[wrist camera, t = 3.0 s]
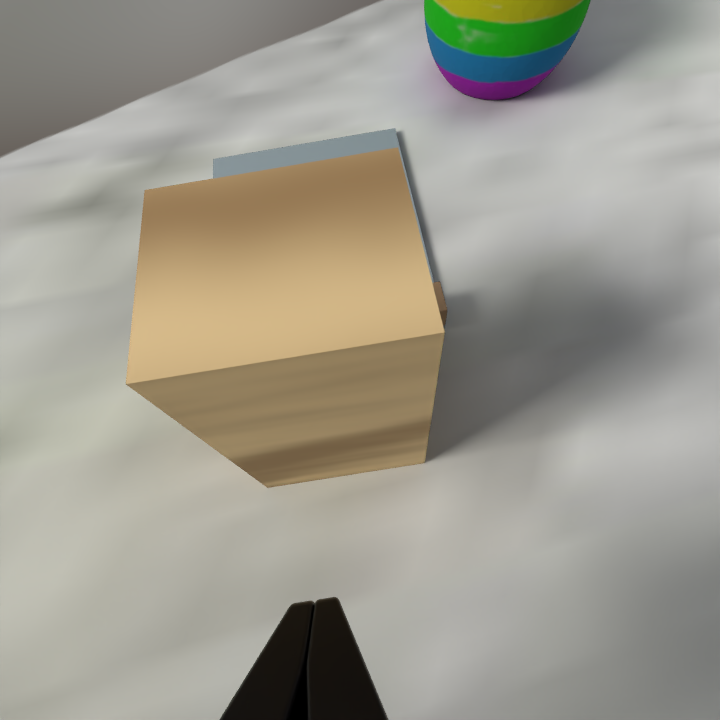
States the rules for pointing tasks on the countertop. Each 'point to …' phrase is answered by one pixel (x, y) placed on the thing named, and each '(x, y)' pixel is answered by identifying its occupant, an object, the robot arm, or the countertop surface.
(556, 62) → the decorative egg
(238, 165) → the slate mat
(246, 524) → the countertop surface
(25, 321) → the countertop surface
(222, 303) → the oak block
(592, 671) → the countertop surface
